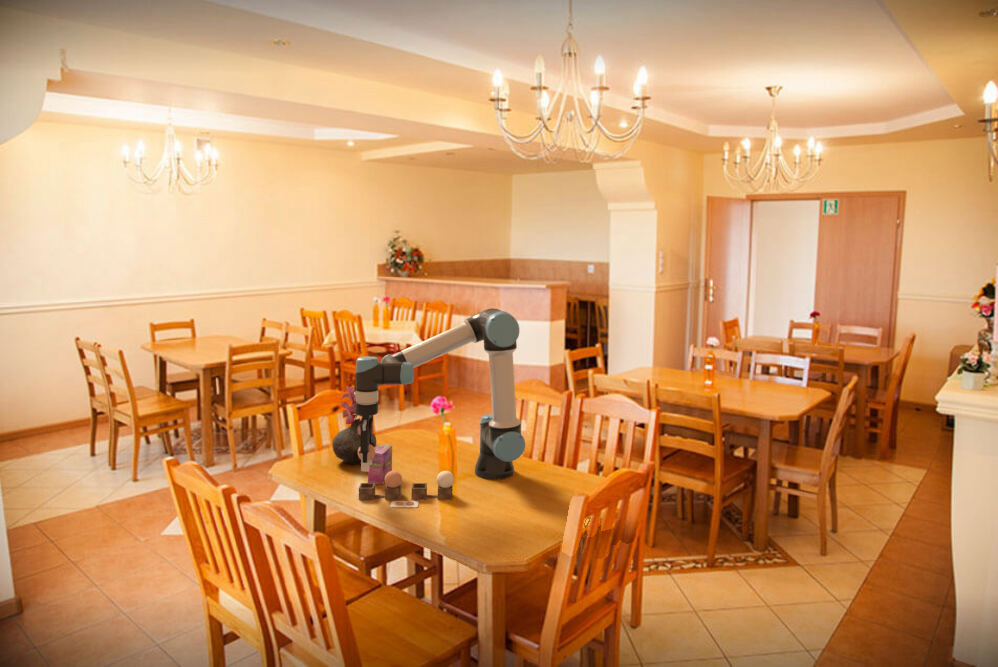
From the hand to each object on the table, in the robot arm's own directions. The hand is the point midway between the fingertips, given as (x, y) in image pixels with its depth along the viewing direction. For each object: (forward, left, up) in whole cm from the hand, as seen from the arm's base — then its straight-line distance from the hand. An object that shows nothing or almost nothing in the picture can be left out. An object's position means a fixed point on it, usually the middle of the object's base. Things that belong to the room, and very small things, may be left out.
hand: (366, 467), depth 226 cm
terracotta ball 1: (0, 0, +2) cm, 2 cm away
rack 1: (-5, 0, -10) cm, 11 cm away
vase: (+9, -36, -11) cm, 39 cm away
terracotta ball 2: (-9, 0, -7) cm, 12 cm away
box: (-3, -17, -11) cm, 20 cm away
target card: (-14, +7, -10) cm, 19 cm away
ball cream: (-27, 0, -7) cm, 28 cm away
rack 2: (-23, 0, -10) cm, 25 cm away
